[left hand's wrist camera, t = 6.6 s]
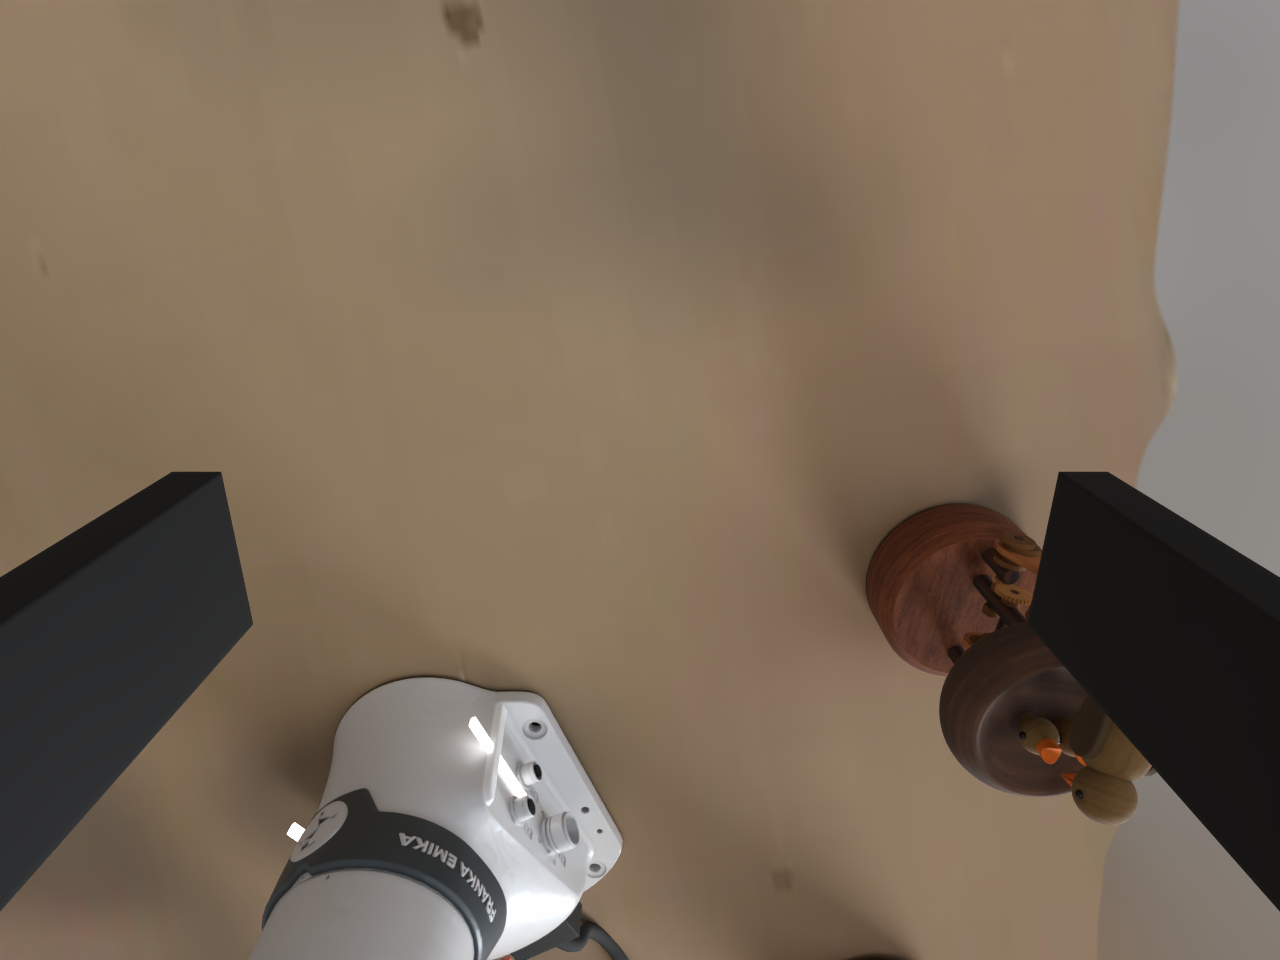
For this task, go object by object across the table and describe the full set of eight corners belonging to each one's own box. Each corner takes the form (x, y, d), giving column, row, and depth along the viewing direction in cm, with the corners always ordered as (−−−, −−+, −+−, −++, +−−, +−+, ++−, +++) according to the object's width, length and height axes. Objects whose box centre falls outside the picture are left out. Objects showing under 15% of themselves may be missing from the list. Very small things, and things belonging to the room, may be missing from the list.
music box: (870, 478, 46) (1071, 674, 28) (1043, 474, 47) (1350, 661, 29) (843, 689, 52) (997, 971, 33) (999, 682, 53) (1233, 952, 34)
